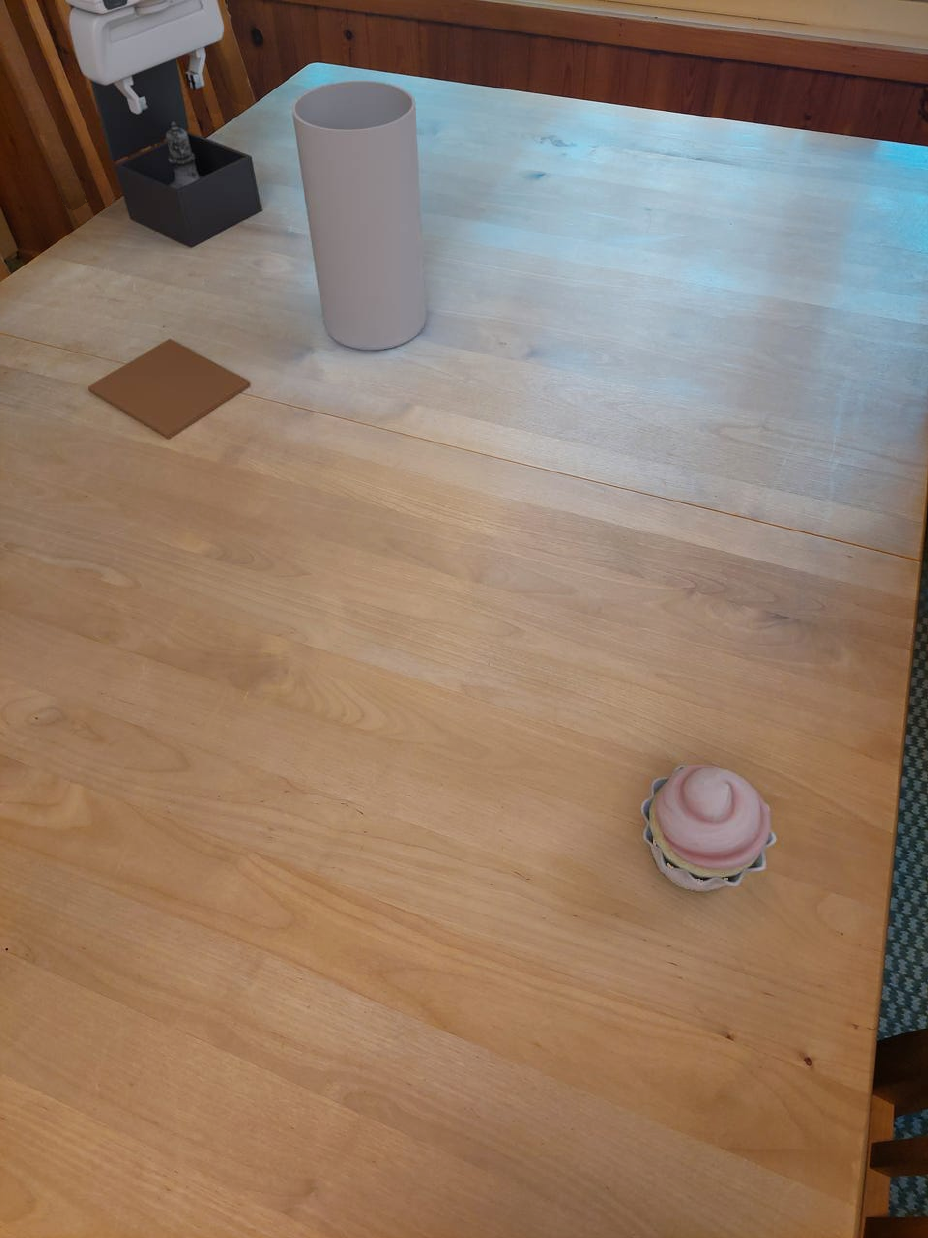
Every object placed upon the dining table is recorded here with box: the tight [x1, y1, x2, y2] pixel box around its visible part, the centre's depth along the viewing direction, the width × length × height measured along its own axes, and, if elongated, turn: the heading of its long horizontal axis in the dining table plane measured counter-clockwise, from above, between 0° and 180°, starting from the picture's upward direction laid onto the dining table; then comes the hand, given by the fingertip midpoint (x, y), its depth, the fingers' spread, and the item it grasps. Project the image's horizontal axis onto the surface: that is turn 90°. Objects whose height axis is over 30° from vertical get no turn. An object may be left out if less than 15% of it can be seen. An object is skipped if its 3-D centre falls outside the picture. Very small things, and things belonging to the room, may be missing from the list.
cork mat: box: [87, 338, 251, 440], centre depth 102 cm, size 14×12×1 cm
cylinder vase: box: [291, 80, 427, 351], centre depth 101 cm, size 12×12×25 cm
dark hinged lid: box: [89, 58, 190, 163], centre depth 119 cm, size 14×13×1 cm
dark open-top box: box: [113, 131, 263, 249], centre depth 126 cm, size 13×13×8 cm
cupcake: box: [640, 764, 778, 892], centre depth 62 cm, size 9×9×10 cm
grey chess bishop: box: [165, 121, 202, 190], centre depth 123 cm, size 6×6×12 cm
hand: (168, 99), depth 117 cm, fingers open, 8 cm apart
